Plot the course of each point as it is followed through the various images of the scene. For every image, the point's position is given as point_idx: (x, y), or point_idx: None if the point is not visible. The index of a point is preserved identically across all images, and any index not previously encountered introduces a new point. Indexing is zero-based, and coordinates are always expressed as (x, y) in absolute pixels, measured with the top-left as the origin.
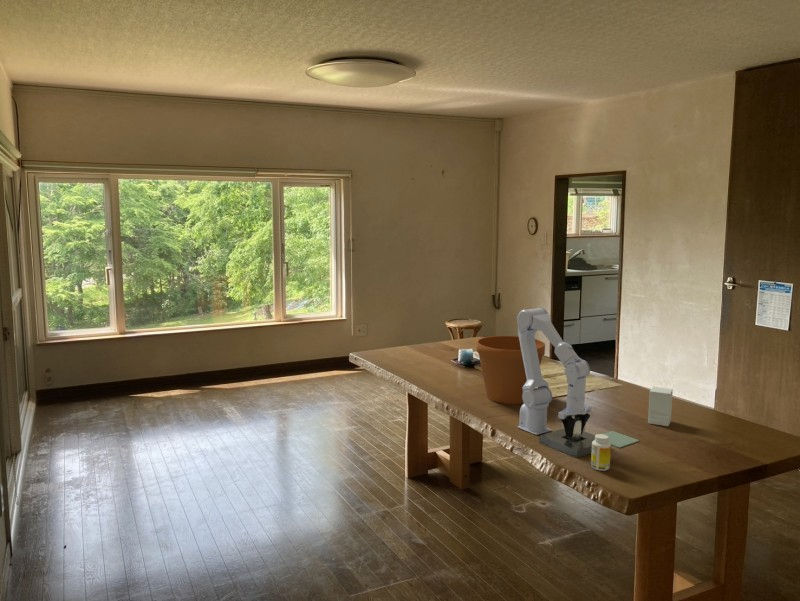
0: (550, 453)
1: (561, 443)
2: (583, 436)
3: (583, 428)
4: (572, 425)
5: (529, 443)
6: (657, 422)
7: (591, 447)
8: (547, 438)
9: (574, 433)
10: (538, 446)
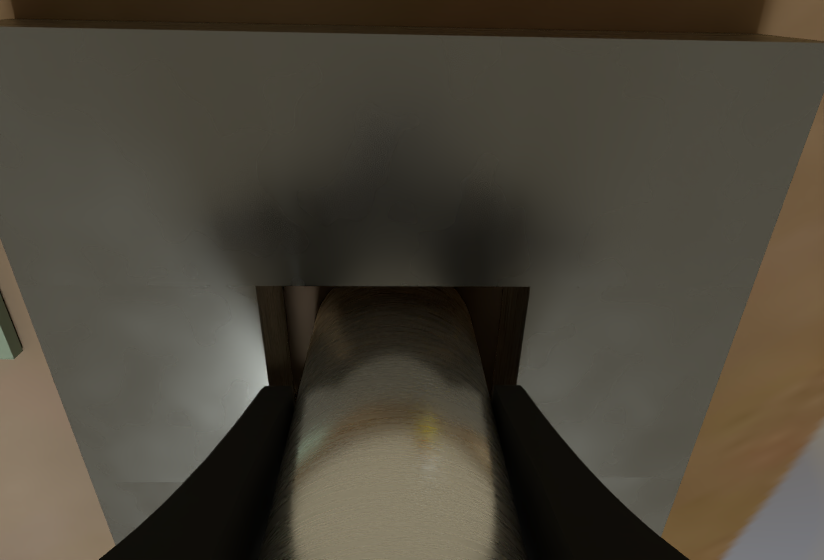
0: (812, 316)
1: (702, 357)
2: (231, 361)
3: (230, 447)
4: (644, 554)
5: (694, 540)
6: None
7: (440, 34)
8: (665, 515)
9: (481, 412)
10: (707, 473)
